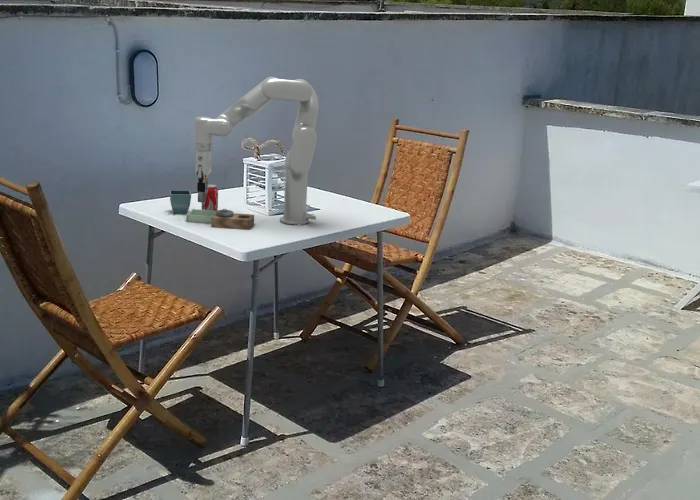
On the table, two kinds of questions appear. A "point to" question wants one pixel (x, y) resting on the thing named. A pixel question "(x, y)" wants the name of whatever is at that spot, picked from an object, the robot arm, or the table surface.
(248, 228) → the block
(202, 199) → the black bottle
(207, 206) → the soda can
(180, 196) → the flower pot
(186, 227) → the table surface
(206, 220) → the tray
